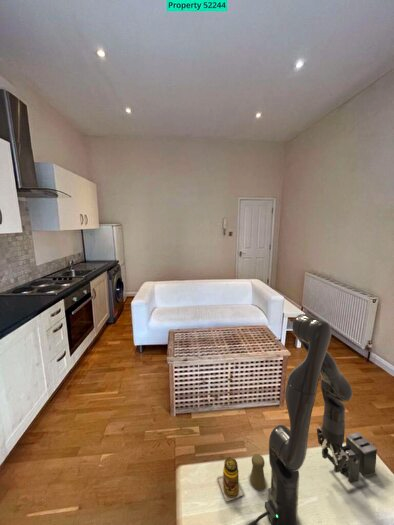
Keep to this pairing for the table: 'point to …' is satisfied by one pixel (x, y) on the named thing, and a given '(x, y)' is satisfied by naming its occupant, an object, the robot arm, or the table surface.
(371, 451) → the toaster body
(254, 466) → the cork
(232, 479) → the condiment
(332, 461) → the switch lever
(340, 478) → the table surface
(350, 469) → the switch bracket
